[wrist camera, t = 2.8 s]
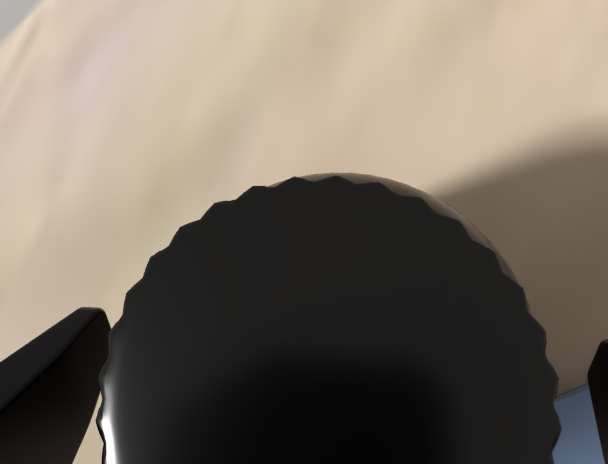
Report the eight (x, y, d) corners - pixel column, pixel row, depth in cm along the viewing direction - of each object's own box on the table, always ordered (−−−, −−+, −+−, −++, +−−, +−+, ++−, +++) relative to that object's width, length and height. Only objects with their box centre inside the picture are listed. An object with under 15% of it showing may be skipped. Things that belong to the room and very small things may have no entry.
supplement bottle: (212, 293, 18) (-80, 236, 6) (393, 204, 18) (459, -35, 6) (298, 492, 16) (140, 924, 5) (496, 397, 16) (851, 593, 4)
